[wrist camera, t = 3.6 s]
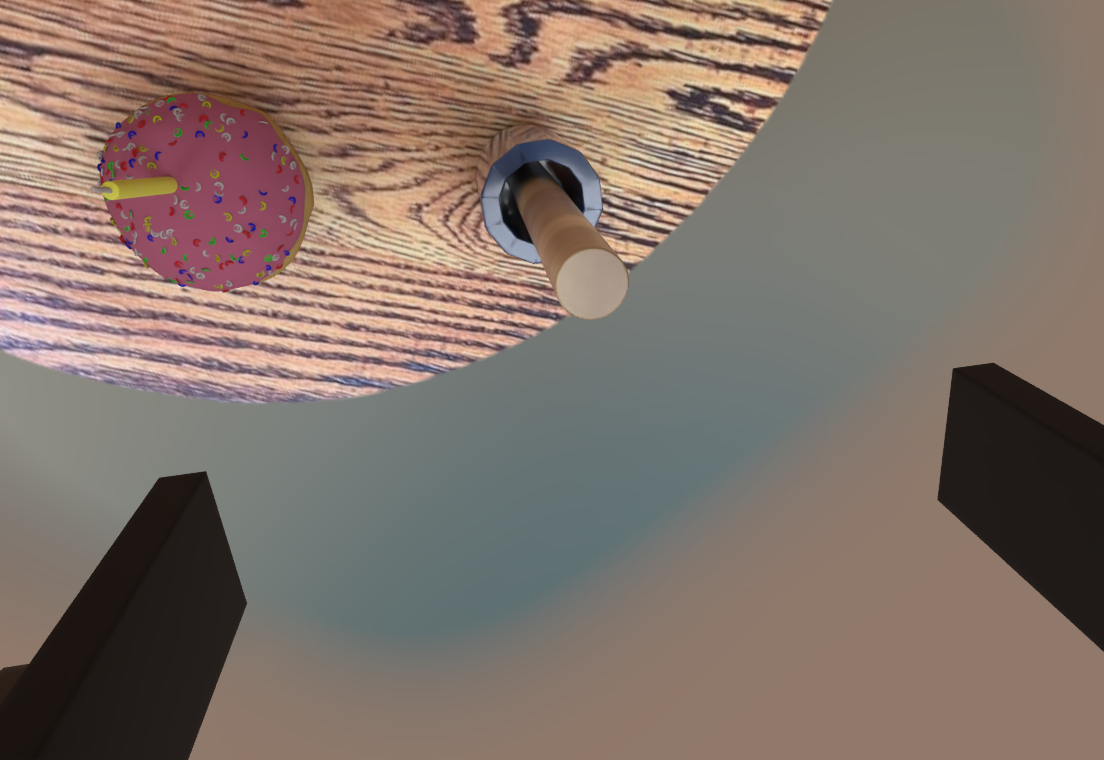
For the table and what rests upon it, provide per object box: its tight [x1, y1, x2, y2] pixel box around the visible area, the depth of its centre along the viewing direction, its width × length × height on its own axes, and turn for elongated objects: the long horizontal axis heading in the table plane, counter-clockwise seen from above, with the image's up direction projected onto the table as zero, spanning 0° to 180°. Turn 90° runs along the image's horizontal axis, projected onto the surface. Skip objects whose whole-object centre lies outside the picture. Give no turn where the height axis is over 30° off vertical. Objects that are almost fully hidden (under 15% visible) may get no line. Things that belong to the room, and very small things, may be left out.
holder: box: [475, 124, 603, 264], centre depth 36 cm, size 5×5×8 cm
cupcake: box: [91, 93, 314, 292], centre depth 32 cm, size 9×8×12 cm
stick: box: [507, 161, 629, 320], centre depth 30 cm, size 2×2×20 cm
